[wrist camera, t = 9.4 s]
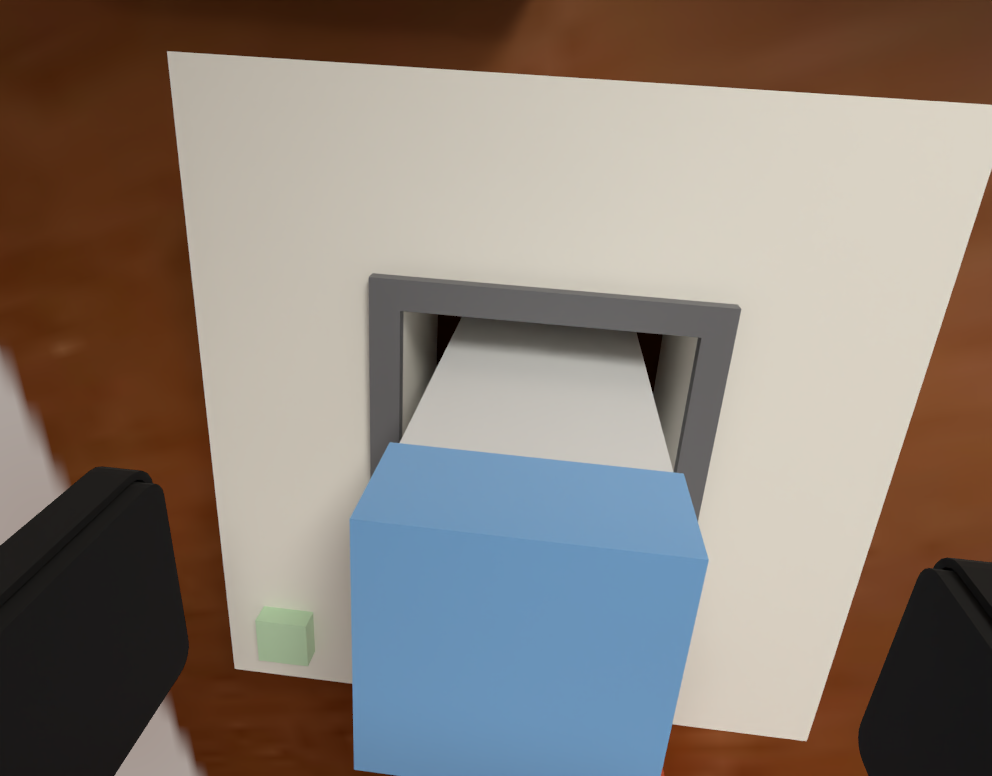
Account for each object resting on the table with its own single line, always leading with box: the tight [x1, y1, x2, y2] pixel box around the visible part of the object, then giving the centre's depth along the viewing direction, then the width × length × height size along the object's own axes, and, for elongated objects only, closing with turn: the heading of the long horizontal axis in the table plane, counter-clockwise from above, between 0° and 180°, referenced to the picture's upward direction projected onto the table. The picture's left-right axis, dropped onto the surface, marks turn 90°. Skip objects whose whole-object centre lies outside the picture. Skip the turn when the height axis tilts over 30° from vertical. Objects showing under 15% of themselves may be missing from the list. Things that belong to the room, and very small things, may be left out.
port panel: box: [167, 51, 992, 741], centre depth 16 cm, size 14×14×4 cm
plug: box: [349, 317, 709, 776], centre depth 14 cm, size 4×4×10 cm
